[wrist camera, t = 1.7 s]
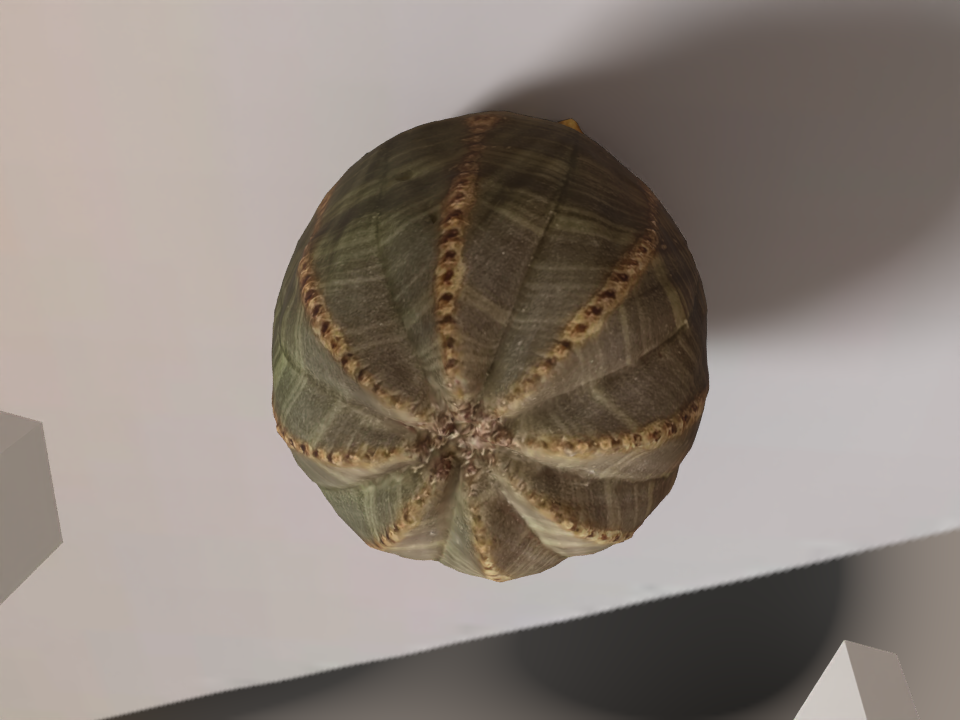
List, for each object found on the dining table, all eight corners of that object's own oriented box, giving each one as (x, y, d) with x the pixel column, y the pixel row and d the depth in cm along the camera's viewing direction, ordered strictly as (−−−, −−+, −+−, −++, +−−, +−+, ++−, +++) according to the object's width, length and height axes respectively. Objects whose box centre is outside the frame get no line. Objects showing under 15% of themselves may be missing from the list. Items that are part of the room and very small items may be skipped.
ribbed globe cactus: (560, 437, 28) (514, 715, 18) (318, 276, 27) (118, 478, 17) (765, 218, 23) (867, 438, 13) (475, 2, 21) (324, 51, 11)
